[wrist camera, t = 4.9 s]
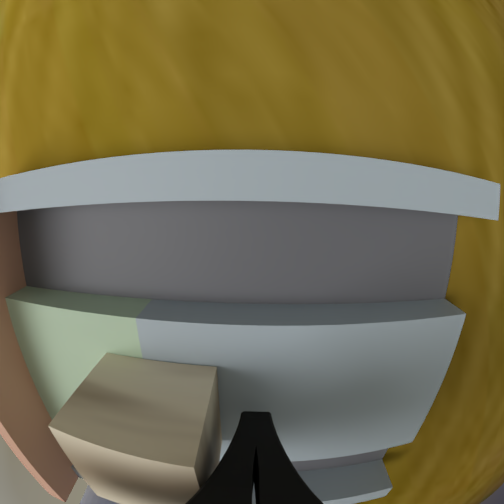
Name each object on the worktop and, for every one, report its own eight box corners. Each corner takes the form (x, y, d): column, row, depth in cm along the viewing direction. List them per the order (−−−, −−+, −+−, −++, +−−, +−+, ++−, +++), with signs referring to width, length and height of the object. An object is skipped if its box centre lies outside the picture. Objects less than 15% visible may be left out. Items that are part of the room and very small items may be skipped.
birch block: (222, 441, 12) (210, 523, 7) (130, 426, 12) (97, 495, 7) (217, 366, 11) (193, 467, 6) (106, 352, 11) (47, 425, 6)
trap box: (374, 464, 16) (395, 524, 10) (79, 444, 16) (50, 494, 10) (453, 181, 11) (552, 190, 5) (7, 183, 11) (-76, 194, 5)
